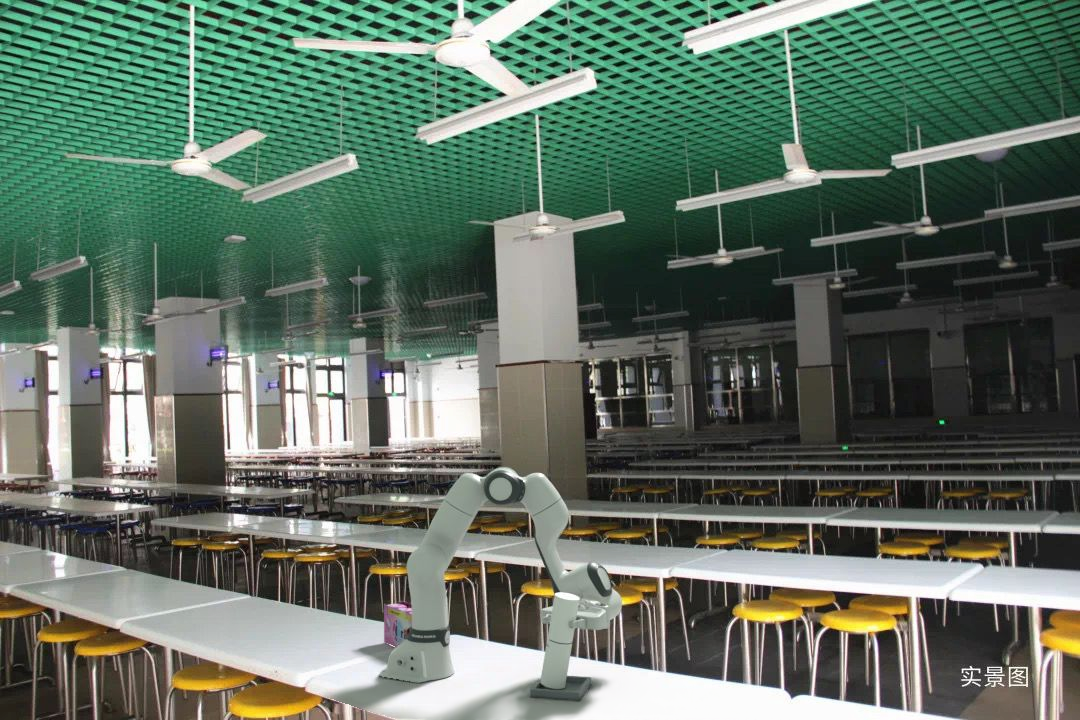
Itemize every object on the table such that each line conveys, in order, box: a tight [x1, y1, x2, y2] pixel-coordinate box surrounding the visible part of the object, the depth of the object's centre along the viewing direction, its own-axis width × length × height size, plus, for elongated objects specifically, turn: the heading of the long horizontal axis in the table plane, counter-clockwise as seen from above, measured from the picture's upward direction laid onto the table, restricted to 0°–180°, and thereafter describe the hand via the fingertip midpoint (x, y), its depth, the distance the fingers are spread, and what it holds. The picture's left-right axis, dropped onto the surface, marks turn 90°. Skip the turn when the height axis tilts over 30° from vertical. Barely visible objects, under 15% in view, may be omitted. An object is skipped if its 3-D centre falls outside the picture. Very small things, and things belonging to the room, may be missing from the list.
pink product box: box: [383, 600, 412, 647], centre depth 280 cm, size 24×8×14 cm, turn 37°
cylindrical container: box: [540, 592, 580, 689], centre depth 231 cm, size 7×7×25 cm
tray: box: [529, 675, 593, 702], centre depth 229 cm, size 14×14×2 cm
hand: (557, 623), depth 230 cm, fingers open, 8 cm apart
